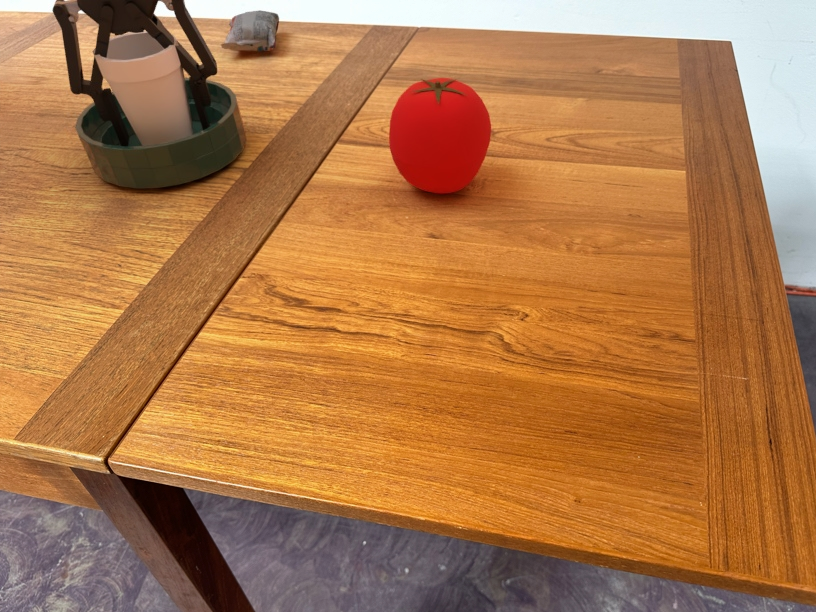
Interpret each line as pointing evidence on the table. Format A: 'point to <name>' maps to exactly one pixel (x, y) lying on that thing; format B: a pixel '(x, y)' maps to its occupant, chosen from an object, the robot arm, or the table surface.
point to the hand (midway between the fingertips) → (166, 135)
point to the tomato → (439, 135)
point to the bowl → (165, 145)
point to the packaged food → (252, 31)
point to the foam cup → (148, 87)
